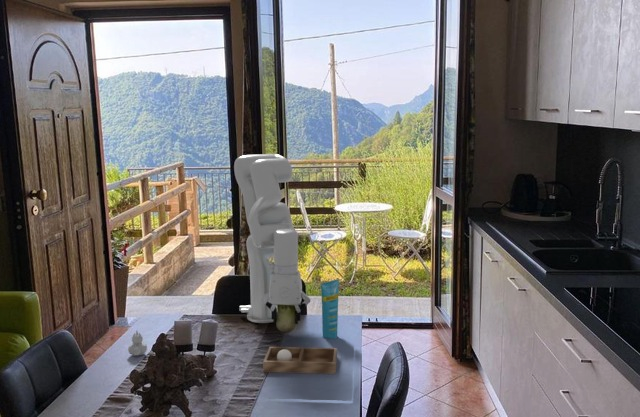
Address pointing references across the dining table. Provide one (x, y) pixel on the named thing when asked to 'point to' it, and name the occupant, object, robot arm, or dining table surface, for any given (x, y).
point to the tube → (330, 308)
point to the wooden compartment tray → (302, 360)
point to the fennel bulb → (285, 318)
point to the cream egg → (284, 355)
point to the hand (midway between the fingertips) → (286, 321)
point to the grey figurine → (137, 345)
